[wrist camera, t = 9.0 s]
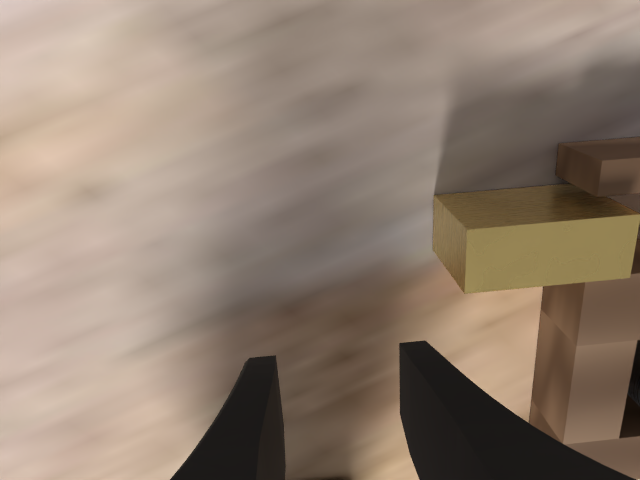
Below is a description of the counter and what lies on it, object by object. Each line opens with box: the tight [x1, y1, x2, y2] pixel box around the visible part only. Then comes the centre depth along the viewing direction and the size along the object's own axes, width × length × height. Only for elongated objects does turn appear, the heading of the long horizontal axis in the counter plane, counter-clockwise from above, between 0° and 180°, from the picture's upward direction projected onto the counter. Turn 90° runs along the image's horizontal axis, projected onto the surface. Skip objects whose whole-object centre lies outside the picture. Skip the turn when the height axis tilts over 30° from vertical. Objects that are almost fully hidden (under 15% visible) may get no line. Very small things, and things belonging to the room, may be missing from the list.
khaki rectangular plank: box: [433, 183, 640, 294], centre depth 20 cm, size 2×6×4 cm, turn 94°
